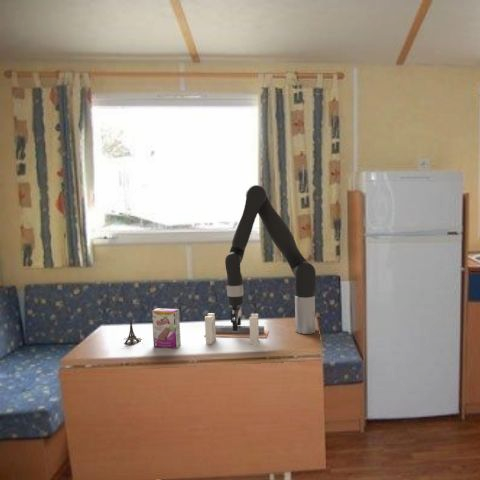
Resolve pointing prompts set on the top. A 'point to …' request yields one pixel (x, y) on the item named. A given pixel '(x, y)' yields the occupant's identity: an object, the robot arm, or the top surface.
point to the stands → (211, 331)
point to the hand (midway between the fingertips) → (237, 327)
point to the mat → (241, 335)
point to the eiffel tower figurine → (132, 336)
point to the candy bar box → (166, 328)
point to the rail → (240, 330)
